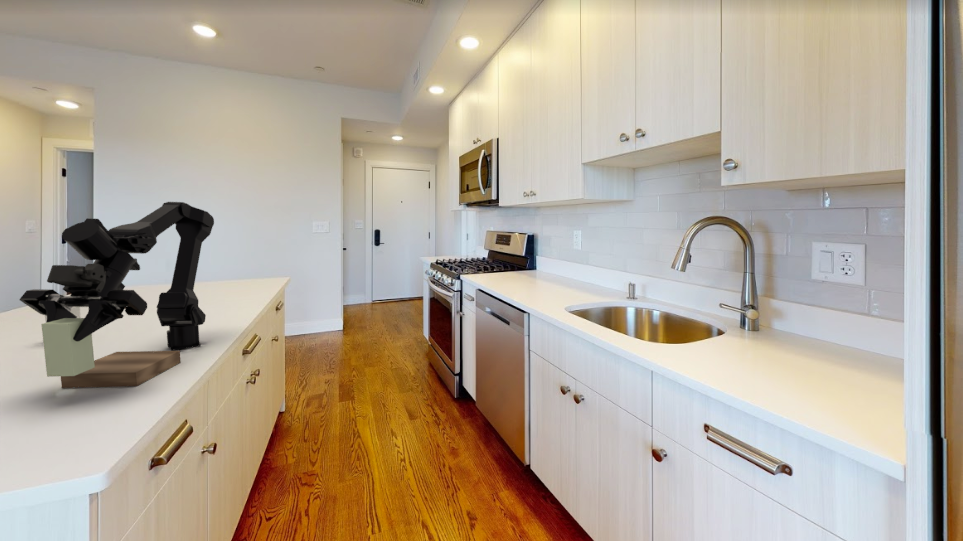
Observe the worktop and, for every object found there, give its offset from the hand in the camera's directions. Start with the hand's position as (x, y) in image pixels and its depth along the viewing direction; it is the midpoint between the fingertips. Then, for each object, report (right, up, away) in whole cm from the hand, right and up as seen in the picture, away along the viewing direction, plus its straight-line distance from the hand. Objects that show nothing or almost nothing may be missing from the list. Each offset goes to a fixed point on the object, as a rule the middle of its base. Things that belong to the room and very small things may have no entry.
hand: (61, 340), depth 70 cm
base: (-2, -10, +15) cm, 19 cm away
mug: (-40, -7, +37) cm, 55 cm away
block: (0, -6, +2) cm, 7 cm away
